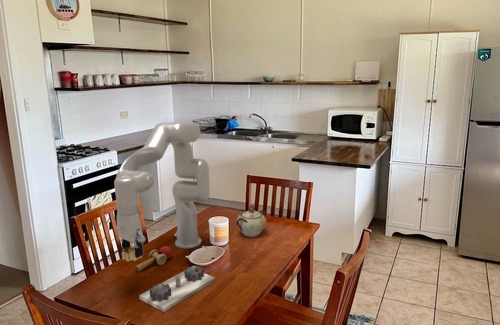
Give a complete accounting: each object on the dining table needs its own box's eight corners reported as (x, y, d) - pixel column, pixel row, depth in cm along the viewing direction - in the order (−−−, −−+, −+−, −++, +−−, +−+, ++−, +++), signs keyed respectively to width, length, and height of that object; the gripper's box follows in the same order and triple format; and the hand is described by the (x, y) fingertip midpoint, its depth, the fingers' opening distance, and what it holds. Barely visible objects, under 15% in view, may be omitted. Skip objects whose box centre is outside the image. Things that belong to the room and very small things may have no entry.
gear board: (139, 298, 148) (137, 283, 146) (190, 270, 167) (189, 256, 166) (163, 312, 139) (162, 295, 138) (215, 280, 159) (214, 266, 157)
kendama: (145, 278, 165) (177, 256, 178) (140, 264, 164) (173, 244, 177) (135, 275, 171) (167, 254, 183) (130, 262, 169) (163, 242, 182)
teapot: (254, 224, 215) (254, 198, 212) (275, 231, 205) (275, 204, 201) (227, 235, 202) (226, 207, 198) (248, 244, 191) (247, 214, 188)
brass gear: (119, 257, 150) (118, 250, 149) (135, 250, 155) (134, 243, 155) (130, 263, 145) (129, 255, 145) (147, 255, 151) (146, 248, 150)
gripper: (105, 207, 148) (111, 251, 153) (133, 217, 138) (138, 263, 142) (123, 202, 154) (127, 244, 158) (151, 211, 143) (155, 255, 148)
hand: (132, 253), depth 150 cm, fingers closed on brass gear, 7 cm apart
